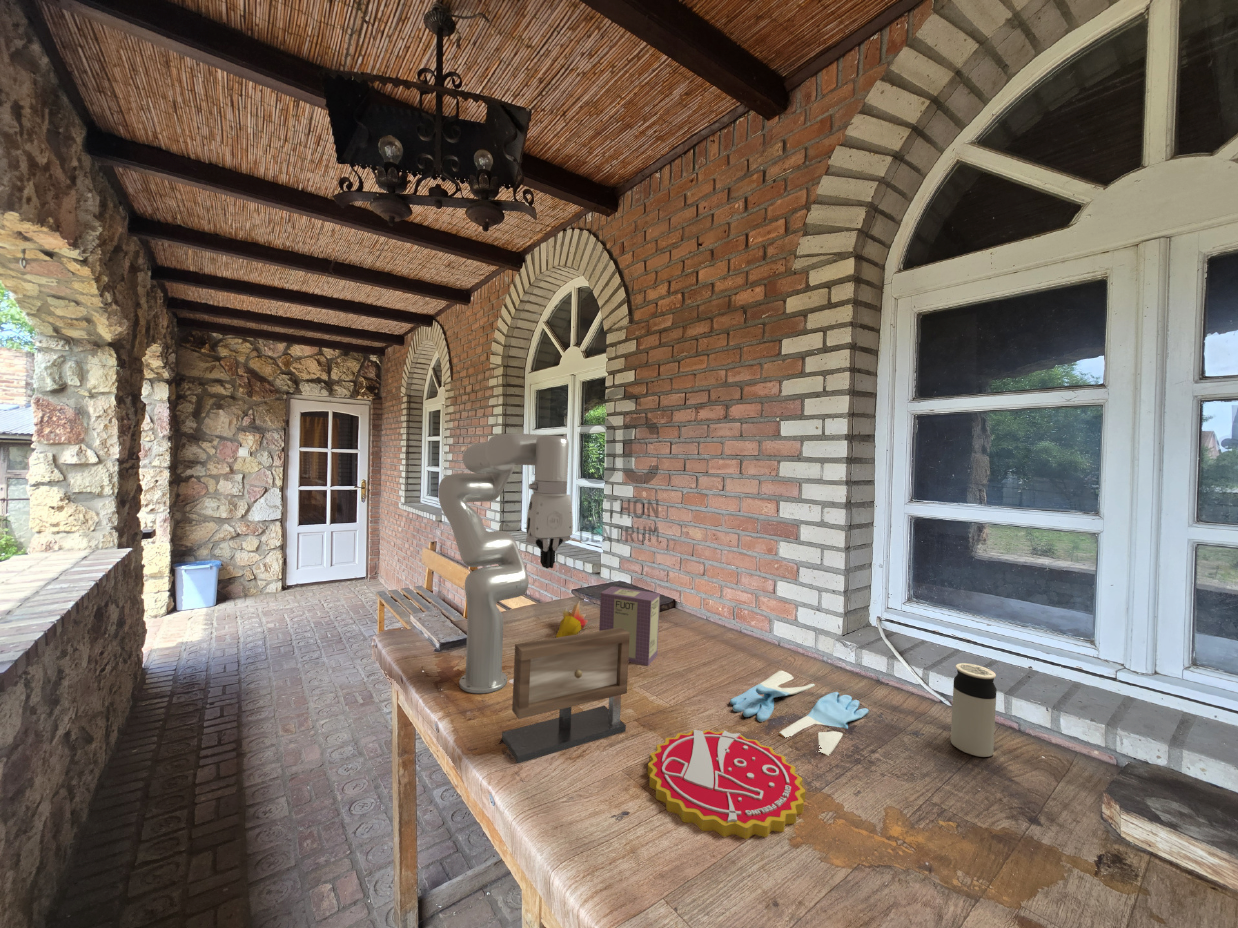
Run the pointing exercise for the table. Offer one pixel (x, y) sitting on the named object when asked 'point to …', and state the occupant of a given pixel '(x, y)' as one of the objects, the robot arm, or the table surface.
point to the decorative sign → (726, 783)
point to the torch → (571, 622)
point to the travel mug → (973, 710)
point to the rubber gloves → (824, 712)
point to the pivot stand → (564, 731)
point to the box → (633, 620)
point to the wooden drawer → (569, 671)
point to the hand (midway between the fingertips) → (547, 566)
